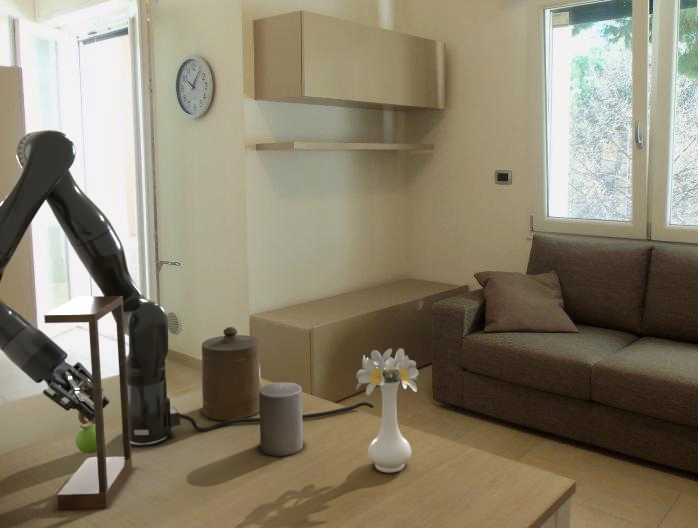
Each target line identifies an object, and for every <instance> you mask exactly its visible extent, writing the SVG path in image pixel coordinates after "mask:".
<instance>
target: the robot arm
mask: <svg viewBox="0 0 698 528" xmlns="http://www.w3.org/2000/svg"><path fill="white" fill-rule="evenodd" d="M15 154H16V155H15V156H16V159H17V161H18V164H19V166H20V167H21V169H22V172H21V174H20V177H19V179H18V180H17V182H16V183H15V185H14V186H13V188H12V189H11V191H10V192H9V194H8V195H7V196H6V197H5V199H3V201H2V202H1V203H0V283H1V282H2V279H3V276H4V274H5V271H6V268H7V267H8V265H9V264H10V262H11V260H12V258H13V257H14V255H15V253H16V252H17V250H18V248H19V245H20V244H21V243H22V240H23V238H24V236H25V234H26V232H27V231H28V229H29V227H30V225H31V223H32V222H33V220H34V219H35V217H36V215H37V214H38V212H39V211H40V209H41V208H42V206H43V205H44V203H45V201H46V203H47V204H48V206H49V208H50V209H51V212H52V213H53V216H54V217H55V219H56V221H57V223H58V224H59V226H60V228H61V229H62V231H63V233H64V235H65V236H66V238H67V240H68V242H69V244H70V246H71V247H72V249H73V250H74V252H75V254H76V255H77V257H78V259H79V261H80V262H81V264H82V265H83V266H84V268H85V269H86V271H87V272H88V274H89V276H90V277H91V278H92V280H93V282H94V283H95V284H96V286H97V288H98V289H99V290H100V292H101V293H102V296H123V312H124V330H125V336H128V354H126V366H127V384H128V402H129V421H130V439H131V446H134V447H135V446H136V447H148V446H153V445H157V444H160V443H163V442H165V441H167V440H168V439H172V438H173V437H172V428H173V427H177V426H181V419H182V420H185V421H188V422H190V423H191V425H192V426H193V428H194V430H195V431H197V432H208V431H211V430H215V429H218V428H220V427H223V426H227V425H232V424H238V423H239V424H241V423H242V424H243V423H260V417H247V418H243V419H233V420H222V421H220V422H218V423H216V424H213V425H211V426H207V427H200V426H199V425H198V424H197V422H196V420H195V419H194V418H193V417H191V416H190V415H186V414H183V413H181V412H180V411H179V410H178V409H177V408H176V407H175V406H174V405H171V398H170V397H168V388H167V387H168V386H167V366H166V365H167V363H166V359H167V356H168V353H169V319H168V314H167V311H166V310H165V308H164V306H162V305H161V304H160V303H158V302H156V301H153V300H150V299H147V298H146V297H145V296H144V294H143V293H142V291H141V290H140V289H139V287H138V286H137V284H136V282H135V281H134V279H133V278H132V276H131V274H130V271H129V266H128V263H127V258H126V257H127V256H126V253H125V249H124V246H123V244H122V241H121V239H120V237H119V236H118V234H117V232H116V230H115V228H114V227H113V225H112V223H111V222H110V220H109V218H108V216H106V214H105V213H104V212H103V211H102V210H101V209H100V208H99V206H97V205H96V204H95V202H94V201H92V200H91V199H90V197H88V196H87V194H86V193H85V192H84V191H83V190H82V189H81V188H80V186H79V185H78V184H77V182H76V180H75V178H74V177H73V174H72V172H71V171H70V169H71V167H72V166H73V164H74V162H75V160H76V146H75V144H74V142H73V140H72V139H71V138H70V137H69V136H68V135H67V134H66V133H64V132H62V131H59V130H53V129H44V130H37V131H33V132H29V133H26V134H24V135H23V136H22V137H20V139H19V140H18V142H17V144H16V148H15ZM110 313H111V315H112V317H113V320H114V321H115V323H116V308H115V309H114V310H112V311H111V312H110ZM0 351H2V353H3V354H4V355H5V356H6V357H7V358H8V360H10V362H12V363H13V364H14V365H15V366H16V367H17V368H18V369H19V370H21V371H22V372H23V373H24V374H26V376H28V377H29V378H30V379H31V380H32V381H33V382H34V383H36V384H40V383H43V381H44V382H45V383H46V385H47V386H46V387H45V388H44V389H43V390H42V394H43V395H44V396H46V397H47V398H48V399H50V400H51V401H52V402H54V403H56V404H57V406H60V407H61V408H62V409H63V410H65V411H68V412H69V411H70V410H71V409H72V410H76V411H78V413H79V412H80V413H81V414H82V415H83V416H85V417H86V418H87V419H88V420H89V421H92V420H93V419H94V418H95V416H94V407H93V406H92V405H91V404H89V403H88V402H89V401H87V400H86V399H84V397H83V395H84V396H86V397H88V398H87V399H89V400H90V402H94V400H93V383H92V373H91V372H90V371H89V370H88V369H87V368H86V367H85V366H84V365H83V364H82V363H81V362H79V361H76V363H75V364H74V365H71V364H70V363H68V362H66V359H67V358H68V353H67V352H66V351H65V350H64V349H62V348H61V347H60V346H59V345H58V344H57V343H56V342H54V340H53V339H52V338H50V337H49V336H48V335H47V334H46V333H45V332H43V331H42V330H41V329H40V328H37V326H35V325H34V324H33V323H31V322H30V321H29V320H28V319H26V317H25V316H23V315H22V314H21V313H20V312H19V311H17V310H16V309H15V308H13V307H11V306H9V305H8V304H7V303H6V302H5V301H3V299H1V298H0ZM110 401H111V400H110V399H109V398H108V397H106V396H105V395H104V394H103V409H105V408H106V407H107V406H108V405H109V404H110V403H111V402H110ZM364 406H367V407H369V408H371V409H373V408H375V405H373V404H372V403H371V402H368V401H361V402H358V403H356V404H353V405H350V406H345V407H341V408H336V409H332V410H327V411H322V412H314V413H307V414H302V420H303V419H312V418H318V417H319V418H320V417H326V416H330V415H334V414H338V413H343V412H344V413H345V412H348V411H352V410H355V409H358V408H360V407H364Z"/></svg>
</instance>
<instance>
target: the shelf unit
mask: <svg viewBox="0 0 698 528" xmlns="http://www.w3.org/2000/svg"><path fill="white" fill-rule="evenodd" d="M115 308H116V322H115V324H116V325H115V326H116V341H117V358H118V375H119V391H120V392H119V393H120V412H121V430H122V448H123V456H121V455H120V456H107V453H106V439H105V436H106V435H105V436H104V432H105V421H104V408H103V403H102V388H103V387H102V373H101V372H102V371H101V356H100V355H101V354H100V338H99V320H100V319H102V318H104V317H105V316H107V315H108V314H109V313H111V311H112V310H114V309H115ZM43 316H44V317H43V318H44V319H43V320H44V324H63V323H65V324H67V323H68V324H72V323H73V324H74V323H76V324H77V323H88V333H89V334H88V335H89V350H90V366H91V375H92V383H93V400H94V416H95V432H96V448H97V452H96V456H94V457H93V456H92V457H87V458H86V459H85V460H84V462H83V463H82V464H81V465H80V467H79V468H78V469H77V470H76V471H75V473H74V474H73V475H71V477H70V478H69V480H67V482H66V483H65V484H64V486H63V487H62V488H61V490H59V491H58V493H57V494H56V500H57V501H56V502H57V510H58V511H60V510H63V511H64V510H88V509H89V510H90V509H91V510H93V509H107V508H108V507H109V505H110V504H111V502H112V500H113V499H114V498H115V496H116V494H117V493H118V492H119V490H120V488H122V485H123V484H124V482H125V481H126V479H127V478H128V476H129V475H130V473H131V472H132V470H133V462H132V460H133V459H132V445H131V439H130V421H129V402H128V384H127V366H126V355H127V351H126V350H127V349H126V334H125V330H124V312H123V296H104V295H99V296H98V295H97V296H96V295H94V296H77V297H75V298H73V299H71V300H69V301H68V302H67V301H66V303H64V304H62V305H60V306H58V307H57V308H54V309H52V310H51V311H48V312H47V313H46V314H44V315H43Z"/></svg>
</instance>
